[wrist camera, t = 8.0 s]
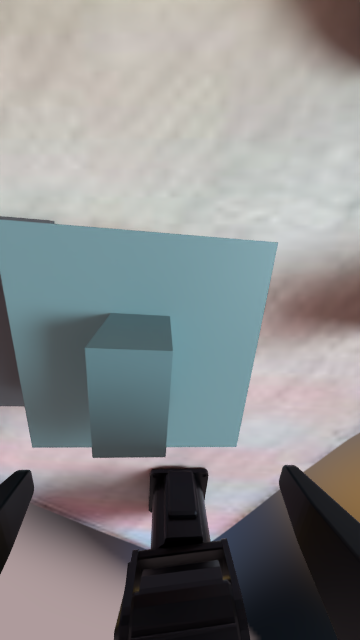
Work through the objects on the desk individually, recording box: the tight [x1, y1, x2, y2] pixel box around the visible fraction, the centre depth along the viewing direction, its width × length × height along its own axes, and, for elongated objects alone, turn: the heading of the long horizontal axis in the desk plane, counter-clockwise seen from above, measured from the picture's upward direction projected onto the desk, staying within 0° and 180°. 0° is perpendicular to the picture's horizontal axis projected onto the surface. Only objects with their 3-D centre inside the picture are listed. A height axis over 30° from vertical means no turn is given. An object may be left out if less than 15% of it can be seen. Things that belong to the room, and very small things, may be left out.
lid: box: [0, 220, 278, 458], centre depth 11 cm, size 13×13×5 cm
